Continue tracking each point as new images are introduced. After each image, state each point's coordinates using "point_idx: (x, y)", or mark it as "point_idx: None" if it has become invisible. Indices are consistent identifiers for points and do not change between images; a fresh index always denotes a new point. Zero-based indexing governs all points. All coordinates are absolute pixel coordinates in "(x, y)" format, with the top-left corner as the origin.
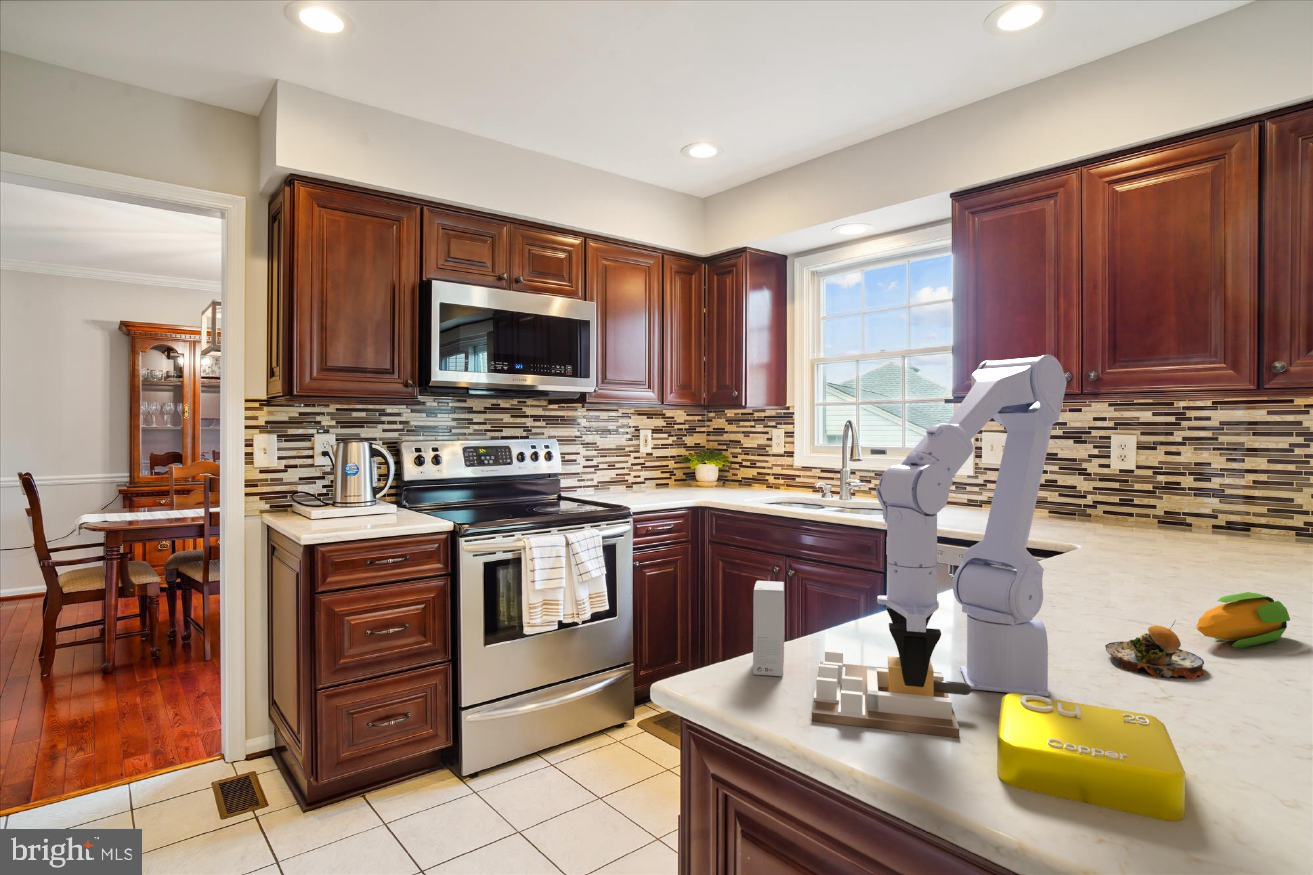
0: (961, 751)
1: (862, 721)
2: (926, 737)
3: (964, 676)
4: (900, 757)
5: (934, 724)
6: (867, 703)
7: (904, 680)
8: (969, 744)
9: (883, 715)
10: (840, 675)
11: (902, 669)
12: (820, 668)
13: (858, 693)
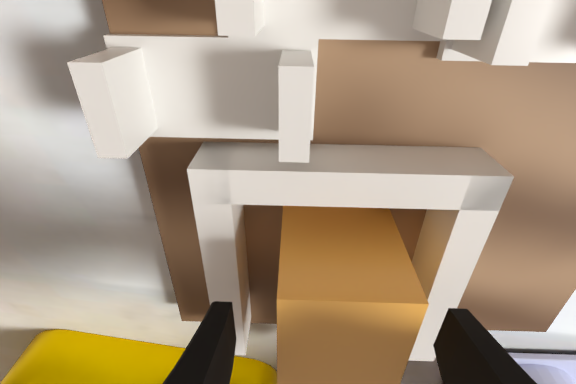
0: (124, 299)
1: None
2: (159, 253)
3: (528, 358)
4: (13, 197)
5: (181, 285)
6: (259, 143)
7: (206, 314)
8: (165, 313)
9: (185, 184)
10: (468, 46)
11: (184, 351)
12: None
13: (105, 142)
